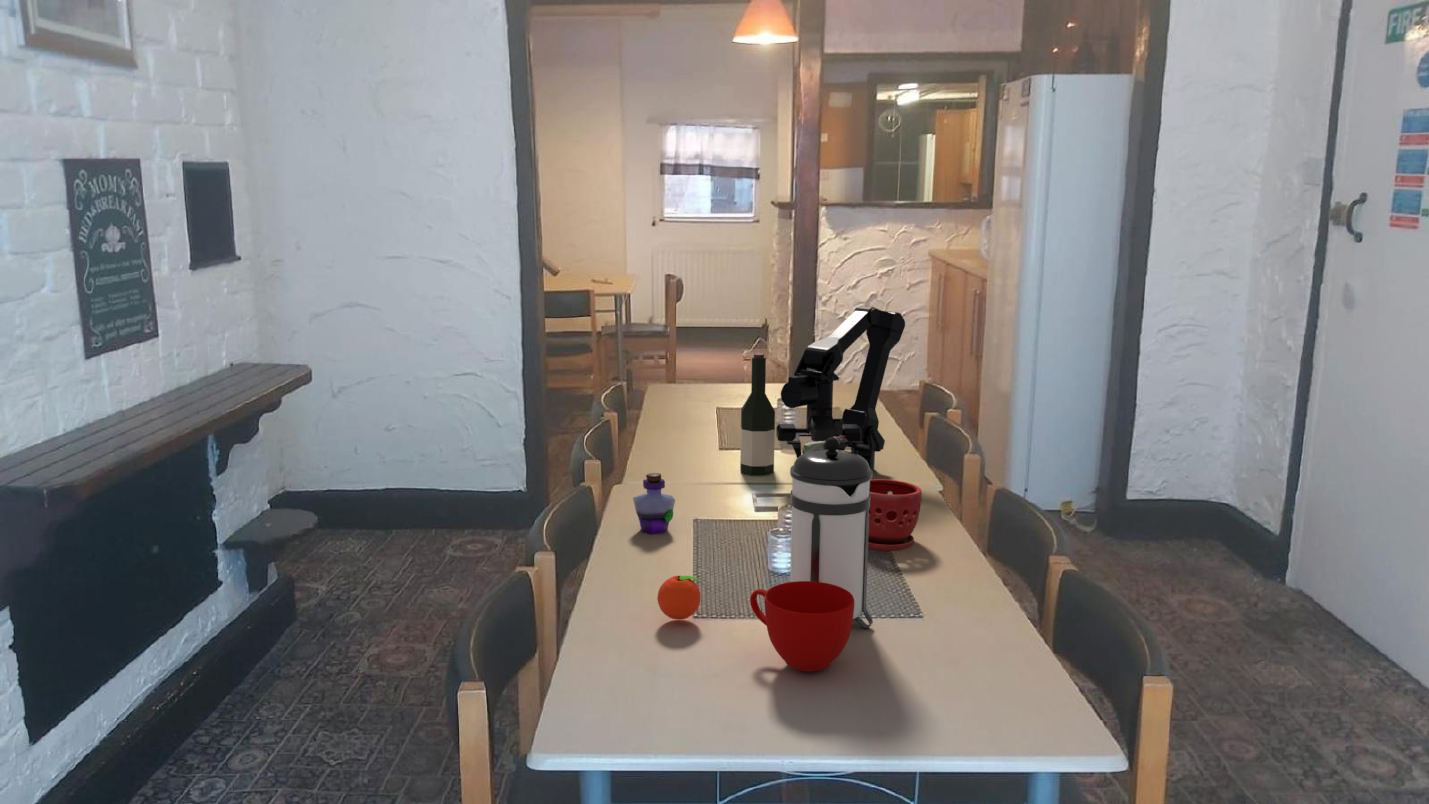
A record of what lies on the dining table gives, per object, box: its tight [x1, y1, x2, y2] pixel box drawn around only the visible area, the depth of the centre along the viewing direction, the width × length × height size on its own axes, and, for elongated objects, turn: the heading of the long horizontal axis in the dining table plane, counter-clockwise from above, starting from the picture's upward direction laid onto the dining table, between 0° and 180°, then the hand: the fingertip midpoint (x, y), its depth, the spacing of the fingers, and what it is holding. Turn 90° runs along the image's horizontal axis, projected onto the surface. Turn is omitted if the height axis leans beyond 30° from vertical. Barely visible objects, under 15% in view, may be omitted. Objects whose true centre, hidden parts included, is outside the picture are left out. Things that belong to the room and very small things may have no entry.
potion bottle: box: [632, 472, 676, 535], centre depth 215 cm, size 9×9×12 cm
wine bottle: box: [740, 352, 776, 477], centre depth 253 cm, size 8×8×30 cm
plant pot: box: [868, 478, 923, 552], centre depth 209 cm, size 13×13×12 cm
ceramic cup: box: [749, 581, 854, 672], centre depth 158 cm, size 13×17×10 cm
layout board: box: [751, 492, 893, 512], centre depth 233 cm, size 12×33×2 cm, turn 91°
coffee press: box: [789, 437, 874, 630], centre depth 172 cm, size 17×16×30 cm
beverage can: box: [801, 440, 826, 455], centre depth 244 cm, size 6×7×12 cm
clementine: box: [657, 575, 706, 620], centre depth 173 cm, size 8×7×7 cm
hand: (817, 469), depth 244 cm, fingers open, 7 cm apart
